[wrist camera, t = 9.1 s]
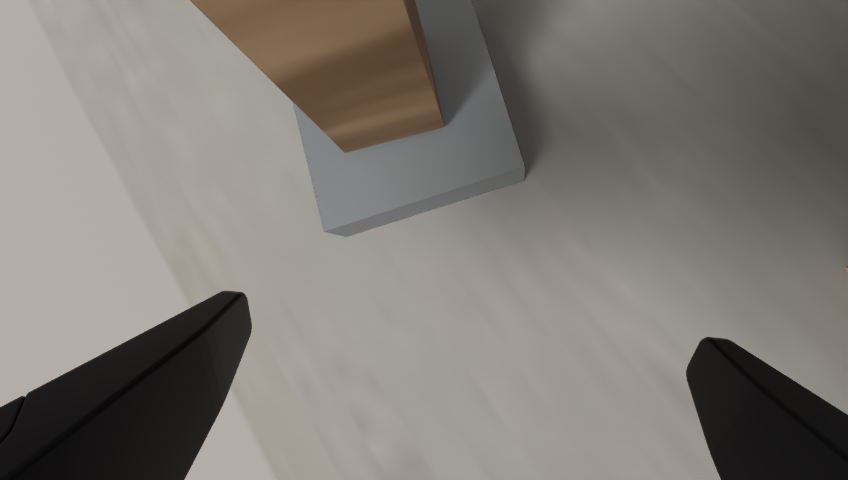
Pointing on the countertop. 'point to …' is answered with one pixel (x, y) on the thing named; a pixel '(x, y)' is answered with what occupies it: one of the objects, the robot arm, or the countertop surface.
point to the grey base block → (423, 138)
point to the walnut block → (340, 62)
